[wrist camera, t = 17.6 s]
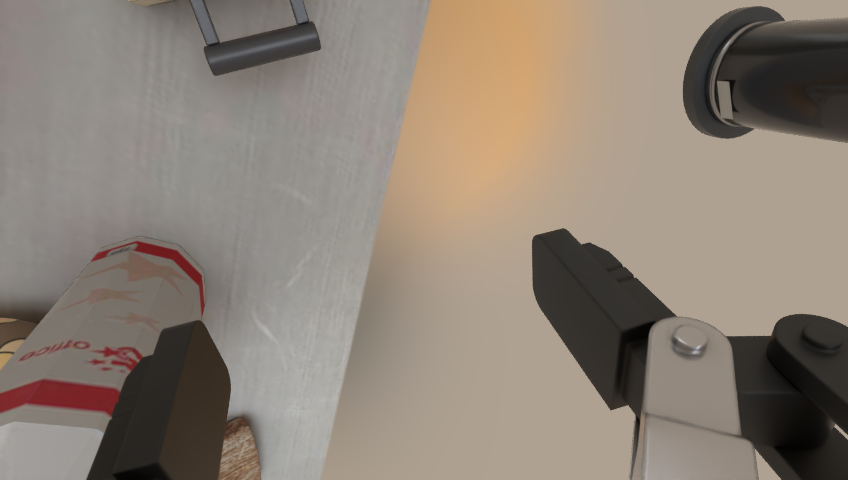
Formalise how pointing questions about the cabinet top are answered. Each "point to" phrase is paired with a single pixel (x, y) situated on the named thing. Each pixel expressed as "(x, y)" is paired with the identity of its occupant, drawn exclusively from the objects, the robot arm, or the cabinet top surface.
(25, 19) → the cabinet top surface
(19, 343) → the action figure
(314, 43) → the drawer
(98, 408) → the spray bottle
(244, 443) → the stone
